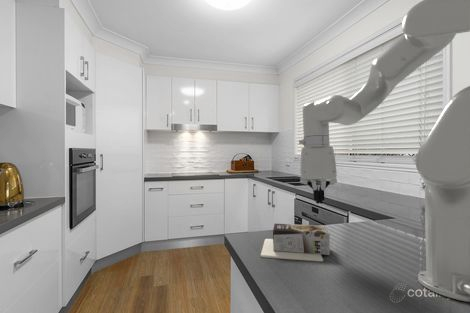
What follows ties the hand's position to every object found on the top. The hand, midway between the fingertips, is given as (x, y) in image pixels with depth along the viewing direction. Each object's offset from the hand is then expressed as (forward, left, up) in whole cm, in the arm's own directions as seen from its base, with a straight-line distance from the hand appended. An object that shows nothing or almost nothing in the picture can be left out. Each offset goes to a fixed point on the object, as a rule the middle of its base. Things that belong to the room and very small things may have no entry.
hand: (319, 202), depth 77 cm
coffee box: (0, -3, -11) cm, 11 cm away
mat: (0, +9, -15) cm, 17 cm away
